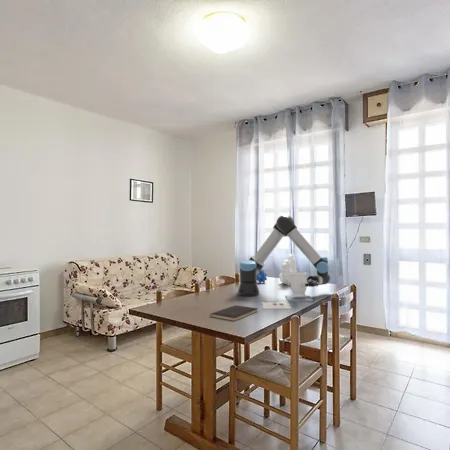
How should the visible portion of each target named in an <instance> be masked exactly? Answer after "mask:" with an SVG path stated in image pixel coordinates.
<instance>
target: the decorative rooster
mask: <svg viewBox="0 0 450 450" xmlns="http://www.w3.org/2000/svg"><path fill="white" fill-rule="evenodd" d="M291 272H298V270H297V259H296V258H295V255H294V254H292V253H290V254H289V255H288V256H287V259H283V263H282V264H281V271H280V273H279V275H278V276H279V281H280V282H281V284H284V285H287V286H288V281H290V280H291V274H290V273H291Z"/></svg>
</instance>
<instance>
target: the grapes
mask: <svg viewBox="0 0 450 450" xmlns="http://www.w3.org/2000/svg"><path fill="white" fill-rule="evenodd" d="M267 280H268V277H267V273H265V271H264V270H263V269H261V271H260V273H259V274H258V275H256V282H258V283H259V284H261V283H263V284H264V283H265V282H266V281H267Z"/></svg>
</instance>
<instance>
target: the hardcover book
mask: <svg viewBox="0 0 450 450" xmlns="http://www.w3.org/2000/svg"><path fill="white" fill-rule="evenodd" d="M258 309H259V308H257V307H251V306H250V307H249V306H245V305H244V306H243V305H237V304H235V305H232V306H228V307H227V308H223V309H219V310H217V311H214V312H211V313H210V317H212V318H218V319H223V320H228V321H238V320H240V319H242V318H244V317H247V316H250V315H252V314H254V313H257V312H258Z"/></svg>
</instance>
